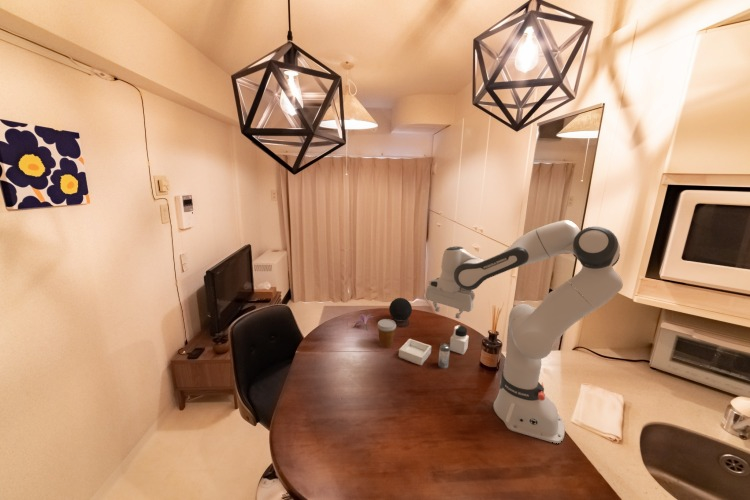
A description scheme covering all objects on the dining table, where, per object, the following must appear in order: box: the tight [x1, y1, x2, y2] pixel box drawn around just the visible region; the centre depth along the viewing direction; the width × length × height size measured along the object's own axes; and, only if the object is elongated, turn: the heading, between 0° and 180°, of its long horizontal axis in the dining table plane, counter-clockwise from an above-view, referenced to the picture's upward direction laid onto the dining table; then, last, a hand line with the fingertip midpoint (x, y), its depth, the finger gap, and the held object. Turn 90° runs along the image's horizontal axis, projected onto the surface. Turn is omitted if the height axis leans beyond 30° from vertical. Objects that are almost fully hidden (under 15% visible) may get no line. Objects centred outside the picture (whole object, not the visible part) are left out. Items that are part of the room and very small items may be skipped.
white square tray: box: [398, 338, 432, 366], centre depth 137 cm, size 12×12×4 cm
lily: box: [353, 313, 374, 331], centre depth 161 cm, size 12×12×10 cm
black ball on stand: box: [388, 297, 413, 328], centre depth 167 cm, size 13×13×15 cm
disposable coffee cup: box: [376, 318, 397, 349], centre depth 145 cm, size 10×10×12 cm
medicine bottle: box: [449, 325, 470, 355], centre depth 142 cm, size 7×7×12 cm
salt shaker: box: [437, 342, 451, 370], centre depth 129 cm, size 4×4×11 cm
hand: (447, 314), depth 124 cm, fingers open, 8 cm apart
